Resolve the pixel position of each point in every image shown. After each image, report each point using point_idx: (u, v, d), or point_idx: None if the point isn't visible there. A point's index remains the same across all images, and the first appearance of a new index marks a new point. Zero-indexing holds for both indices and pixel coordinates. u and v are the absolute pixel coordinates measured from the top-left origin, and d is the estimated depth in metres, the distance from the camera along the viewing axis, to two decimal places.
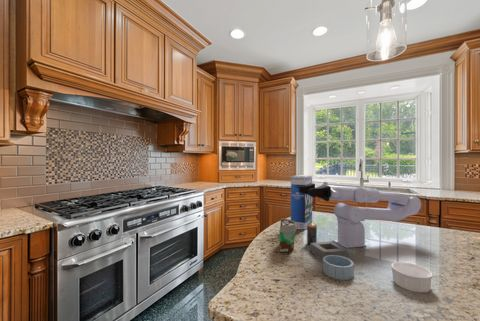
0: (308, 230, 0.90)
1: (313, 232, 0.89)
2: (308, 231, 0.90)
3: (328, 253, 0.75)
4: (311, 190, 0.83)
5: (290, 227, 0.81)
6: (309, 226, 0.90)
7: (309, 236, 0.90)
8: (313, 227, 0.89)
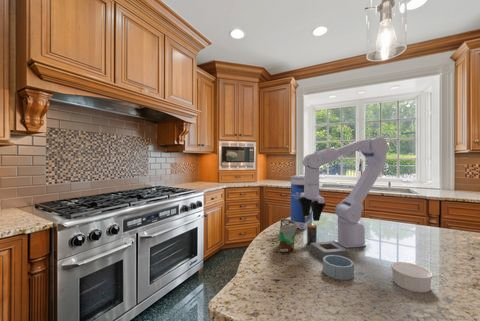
0: (308, 230, 0.90)
1: (313, 232, 0.89)
2: (308, 231, 0.90)
3: (328, 253, 0.75)
4: (315, 219, 0.87)
5: (290, 227, 0.81)
6: (309, 226, 0.90)
7: (309, 236, 0.90)
8: (313, 227, 0.89)
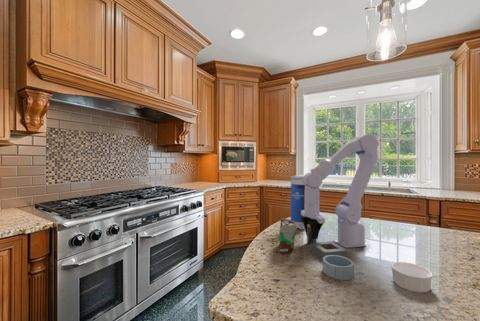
0: (308, 230, 0.90)
1: None
2: (308, 231, 0.90)
3: (328, 253, 0.75)
4: (313, 237, 0.89)
5: (290, 227, 0.81)
6: (309, 226, 0.90)
7: (309, 236, 0.90)
8: None
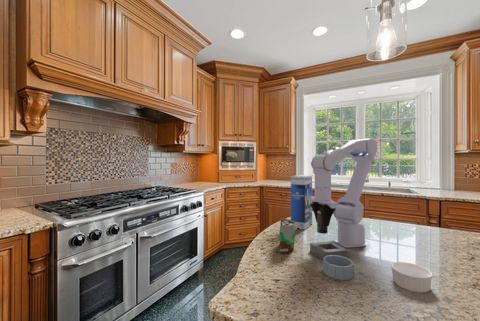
0: (318, 217, 0.83)
1: None
2: (318, 218, 0.83)
3: (328, 253, 0.75)
4: (324, 224, 0.81)
5: (290, 227, 0.81)
6: (319, 212, 0.83)
7: (319, 223, 0.83)
8: None
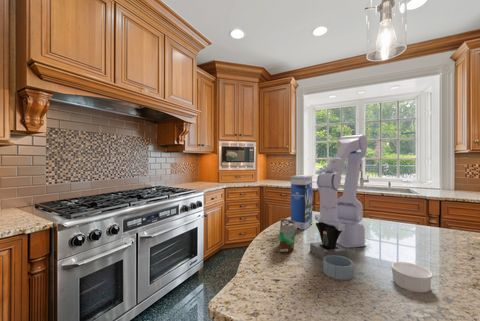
0: (324, 238, 0.80)
1: None
2: (324, 239, 0.80)
3: (328, 253, 0.75)
4: (331, 246, 0.78)
5: (290, 227, 0.81)
6: (325, 233, 0.79)
7: (325, 244, 0.79)
8: None
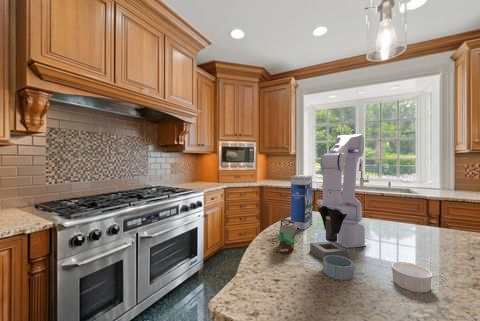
0: (327, 223, 0.74)
1: None
2: (327, 224, 0.74)
3: (328, 253, 0.75)
4: (334, 232, 0.72)
5: (290, 227, 0.81)
6: (328, 218, 0.74)
7: (328, 230, 0.74)
8: None
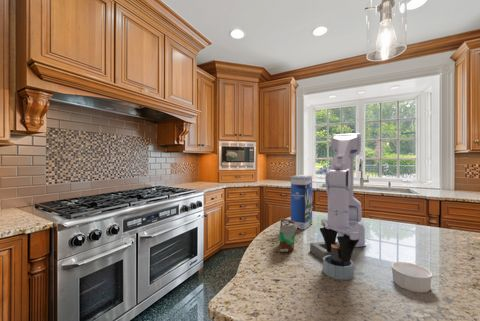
0: (333, 252, 0.67)
1: (340, 256, 0.66)
2: (333, 254, 0.67)
3: (328, 253, 0.75)
4: (344, 260, 0.64)
5: (290, 227, 0.81)
6: (334, 247, 0.67)
7: (334, 261, 0.66)
8: (340, 249, 0.66)
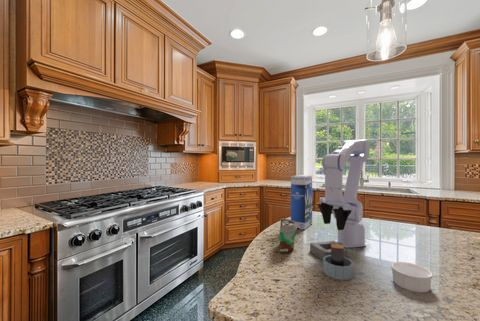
0: (333, 252, 0.67)
1: (340, 256, 0.66)
2: (333, 254, 0.67)
3: (328, 253, 0.75)
4: (339, 228, 0.77)
5: (290, 227, 0.81)
6: (334, 247, 0.67)
7: (334, 261, 0.66)
8: (340, 249, 0.66)
